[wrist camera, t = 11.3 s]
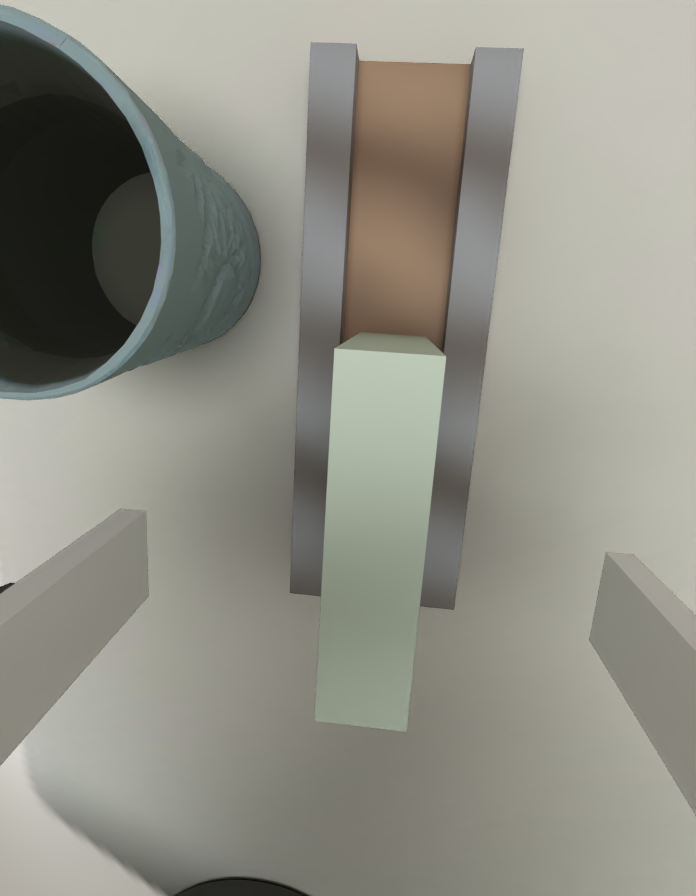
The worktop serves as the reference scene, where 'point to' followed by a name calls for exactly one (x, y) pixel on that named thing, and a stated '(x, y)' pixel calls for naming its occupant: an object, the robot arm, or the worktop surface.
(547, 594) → the worktop surface
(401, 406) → the door panel
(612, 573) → the robot arm
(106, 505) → the worktop surface
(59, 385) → the teal cup
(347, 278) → the track base
